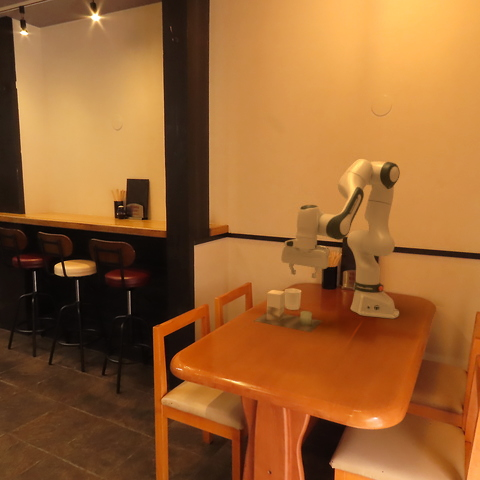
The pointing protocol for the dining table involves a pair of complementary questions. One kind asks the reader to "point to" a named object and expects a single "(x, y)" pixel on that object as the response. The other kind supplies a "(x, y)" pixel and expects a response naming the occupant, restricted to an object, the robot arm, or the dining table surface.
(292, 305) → the white cup
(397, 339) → the dining table surface
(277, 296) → the tower top block
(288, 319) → the walnut board
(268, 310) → the tower base block
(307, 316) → the green cylinder
